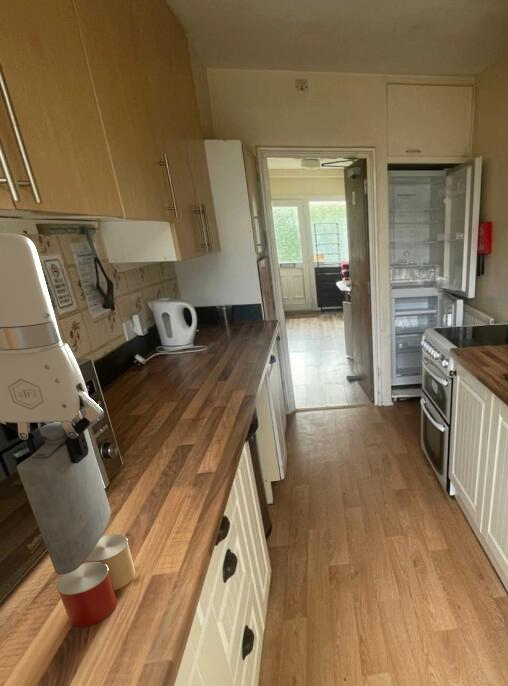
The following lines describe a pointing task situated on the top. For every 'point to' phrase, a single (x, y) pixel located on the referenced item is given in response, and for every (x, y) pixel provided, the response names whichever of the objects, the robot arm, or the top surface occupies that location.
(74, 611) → the can red
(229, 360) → the top surface
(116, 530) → the top surface
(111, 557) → the can cream
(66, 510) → the hip flask
